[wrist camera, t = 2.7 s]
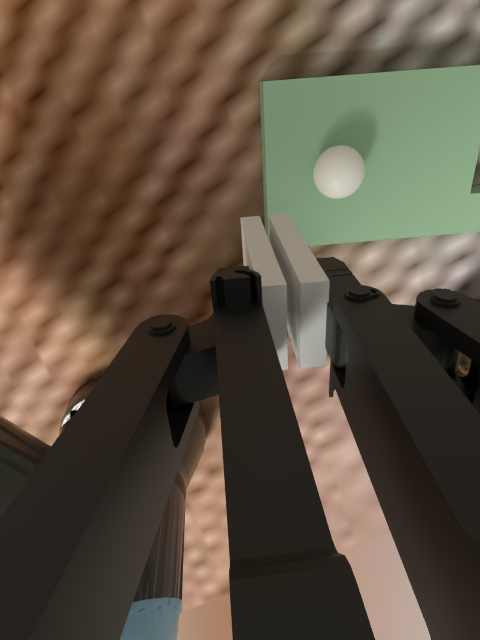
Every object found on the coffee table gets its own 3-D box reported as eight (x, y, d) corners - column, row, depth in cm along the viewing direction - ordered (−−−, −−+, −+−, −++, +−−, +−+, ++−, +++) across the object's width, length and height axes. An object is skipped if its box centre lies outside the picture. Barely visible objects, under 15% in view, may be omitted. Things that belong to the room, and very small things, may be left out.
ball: (308, 194, 32) (318, 206, 29) (308, 144, 30) (320, 150, 27) (354, 190, 32) (369, 201, 29) (357, 140, 30) (374, 146, 27)
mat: (265, 240, 36) (272, 258, 32) (259, 81, 30) (266, 80, 26) (555, 215, 36) (596, 230, 33) (606, 55, 30) (663, 50, 27)
